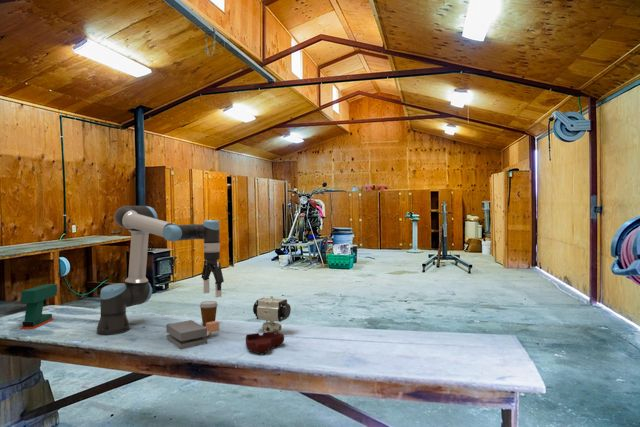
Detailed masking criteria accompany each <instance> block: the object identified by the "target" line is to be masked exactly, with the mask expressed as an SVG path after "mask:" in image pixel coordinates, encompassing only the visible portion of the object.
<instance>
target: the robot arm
mask: <svg viewBox="0 0 640 427" xmlns="http://www.w3.org/2000/svg"><path fill="white" fill-rule="evenodd" d="M113 218H114V222H115V223H116V225H118V227H120V228H122V229H123V228H124V229H126V230H127V229H128V232H130V234H131V235H130V251H129V260H128V261H129V264H128V277H127V278H126V279H125V280H124V283H123V282H122V283H121V282H120V283H119V282H118V283H113V284H107V285H105V286H104V287H102V288H101V289H100V296H99V298H100V318H99V320H98V324H97V326H96V334H97V335H101V336H102V335H103V336H105V335H106V336H107V335H110V336H111V335H117V334H122V333H126V332H128V331H129V330H131V328H130V327H131V324H130V322H129V318H128V316H127V308H129V307H134V306H138V305H142V304H145V303H147V302H148V301H150V299H151V298H152V295H153V287H152V285H151V283H150V282H149V279H148V278H147V277H146V275H147V262H148V252H149V251H148V248H149V234H150V235H151V234H152V235H155V236H158V237H162V238H163V239H164V240H165V241H168V242H177V241H178V242H181V241H189V240H191V241H192V240H203V246H202V247H203V259H204V261H203V267H202V272H201V276H200V277H201V279H202V281H203V294H209V293H210V275H211V273H212V274H213V277H214V281H215V283H214V284H215V285H214V287H215V292H214V294H215V295H214V296H215V298H222V283H224V281H225V279H224V277H223V272H222V267H221V266H222V265H221V262H220V261H219V262H218V260H220V259H221V254H220V253H221V252H220V251H221V242H220V235H221V234H220V231H221V228H220V221H219V219H218V220H217V219H215V220H213V219H210V220H208V219H207V220H205V219H204V220H203V223H202V224H200V223H199V224H198V223H197V224H196V223H195V224H194V223H192V224H191V223H190V224H176V223H174V222H173V223H172V222H170V221H165V220H162V219H158V214H157V211H155V208H154V207H151V206H148V205H123V206H121V207H118V209H117V210H116V211H115V213H114V216H113Z"/></svg>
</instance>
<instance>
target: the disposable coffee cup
mask: <svg viewBox="0 0 640 427" xmlns="http://www.w3.org/2000/svg"><path fill="white" fill-rule="evenodd" d="M218 304H219V303H218V301H216V300H206V301H202V302H200V303H199V307H200V314H201V322H202V326H204V327H206V323H207V322H212V321H216V319H217V318H216V317H217V310H218V309H217V308H218Z"/></svg>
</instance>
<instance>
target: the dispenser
mask: <svg viewBox="0 0 640 427" xmlns="http://www.w3.org/2000/svg"><path fill="white" fill-rule="evenodd" d="M165 328H166V333H168V334H166V340H167V341H168V342H170V343H172V344H173V345H174V346H176V347H177V348H178V349H180V350H183V349H188V348H192V347H197V346H202V345H205V344H206V345H207V343H208V339H207V338H206V337H208V336H209V335H210V334H209V333H207V328H206V326H203V324H199V322H195V321H194V320H192V319H190V320H185V321H184V320H183V321H177V322H173V323H168V324H167V323H166V326H165Z"/></svg>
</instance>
